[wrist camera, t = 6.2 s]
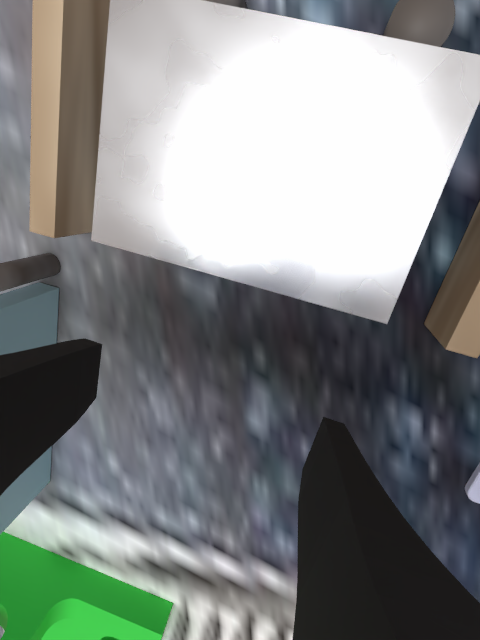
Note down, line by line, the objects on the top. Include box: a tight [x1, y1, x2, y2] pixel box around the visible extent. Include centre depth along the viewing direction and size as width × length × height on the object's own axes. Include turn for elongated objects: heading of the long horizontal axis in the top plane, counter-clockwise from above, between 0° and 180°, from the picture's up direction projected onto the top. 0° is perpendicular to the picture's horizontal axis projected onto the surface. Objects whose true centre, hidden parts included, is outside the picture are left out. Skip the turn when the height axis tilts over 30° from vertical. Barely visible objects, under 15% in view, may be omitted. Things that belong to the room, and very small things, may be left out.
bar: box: [0, 282, 59, 534], centre depth 17 cm, size 1×12×4 cm, turn 167°
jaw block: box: [91, 0, 480, 324], centre depth 12 cm, size 10×7×4 cm
